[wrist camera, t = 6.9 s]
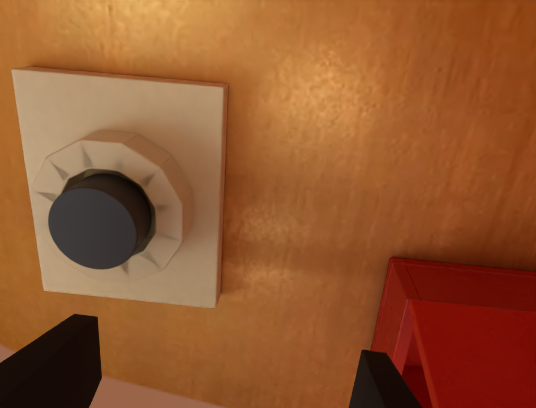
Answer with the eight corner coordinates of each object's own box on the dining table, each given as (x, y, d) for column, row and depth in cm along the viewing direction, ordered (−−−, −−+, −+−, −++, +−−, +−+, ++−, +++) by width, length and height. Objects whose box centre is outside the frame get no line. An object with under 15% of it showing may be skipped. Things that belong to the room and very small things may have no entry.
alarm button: (152, 253, 19) (139, 274, 17) (73, 245, 19) (52, 265, 17) (150, 177, 18) (135, 192, 16) (65, 169, 18) (41, 182, 16)
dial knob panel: (220, 295, 23) (209, 332, 20) (55, 278, 23) (21, 312, 20) (228, 83, 18) (216, 92, 16) (27, 66, 19) (-20, 71, 16)
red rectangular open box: (572, 384, 23) (618, 443, 20) (367, 362, 24) (379, 416, 20) (620, 279, 21) (682, 327, 17) (390, 256, 21) (407, 298, 18)
